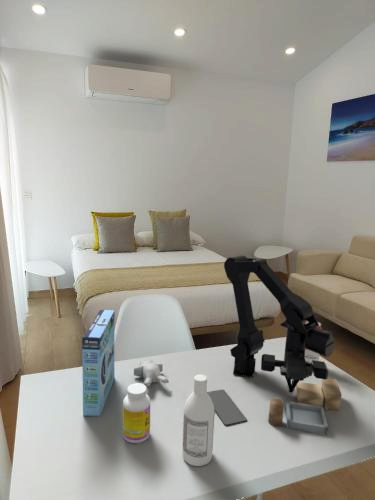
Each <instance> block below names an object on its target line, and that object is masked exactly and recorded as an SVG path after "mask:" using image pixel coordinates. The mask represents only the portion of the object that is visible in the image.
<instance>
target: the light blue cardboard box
mask: <svg viewBox="0 0 375 500" xmlns="http://www.w3.org/2000/svg"><path fill="white" fill-rule="evenodd" d="M115 312H116V311H115V310H113V309H112V310H111V309H99V310H98V313H97V314H96V315H95V317H94V319H93V320H92V321H91V323H90V325H89V326H88V327H87V329H86V331H85V333H84V334H83V335H82V337H81V338H82V339H81V342H82V343H81V344H82V348H81V349H82V352H81V353H82V362H81V363H82V416H83V417H101V415H102V412H103V410H104V408H105V404H106V402H107V399H108V396H109V394H110V391H111V388H112V385H113V383H114V381H115V377H116V375H115Z"/></svg>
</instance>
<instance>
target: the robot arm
mask: <svg viewBox="0 0 375 500" xmlns="http://www.w3.org/2000/svg"><path fill="white" fill-rule="evenodd" d="M223 269H224V271H225V275H226V277H227V279H228V280H229V282H230V283H231V284H232V288H233V293H234V300H235V306H236V312H237V318H238V323H239V324H238V325H239V329H238V333H237V337H236V341H237V343H236V345H235V346H233V347H232V348H231V349H230V356H231V357H233V358H234V364H233V373H232V375H233V376H241V377H245V378H253V377H254V374H255V373H256V360H257V359H256V358H255V355H256V354H258V353H259V351H261V350H262V349H263V347H264V343H265V339H264V332H263V329H259V328H258V327H257V326H256V323H255V318H254V313H253V312H254V311H253V307H252V300H251V295H250V290H249V283H248V282H249V278H250V275H251V273H253V274H255V276H256V278H258V279H259V281H260V282H261V283H262V284H263V286H265V288H266V289H267V290H268V291H269V292H270V294H271V295H272V296H273V297H274V298H275V299H276V300H277V303H278V304H279V306H280V311H281V313H282V315H283V316H284V318H285V320H284V321H283V322H281V323H280V324H279V325H280V326H281V327H284V328H286V337H285V343H284V344H285V345H284V346H285V347H284V356H283V360H279V359H276V355H275V354H267V353H263V354H261V360H260V363H261V364H260V369H261V371H263V372H271V373H272V372H274V371H275V370H276V367H277V368H279V372H280V375H281V376H283V377H284V378H285V381H286V383H287V387H288V391H289V393H291V394H292V393H293V392H294V390H296V385H297V383H298V382H304V379H307V378H309V377H312V376H314V377H315V379H320V380H322V379H329V377H328V376H329V369H328V367H327V364H326V362H325V361H321V360H319V361H314V360H312V363H307V362H306V361H305V349H306V348H307V349H308V350H310V351H313V352H315V353H318V354H319V356H320V355H321V356H323V357H325V358H330V356H331V355H332V354H333V352H334V349H335V345H336V341H335V338H334V337H333V332H332V331H329V330H325V329H323V328H322V329H319V328H317V327H318V326H319V324H318V322H319V321H318V320H317V318H316V317H315V314H314V312H313V310H314V309H313V307H312V305H311V304H310V303H309V302H308V301H307V300H305V299H304V298H303V297H301V296H300V295H298V294H296V293H294V292H293V291H292V290H291V289H290V288H289V287H288V286H287V284H285V283H284V281H283V280H282V279H281V278H280V277H279V276H278V274H276V272H275V271H274V270H273V269H272V268H271V267H270V266H269V264H268V262H267V261H266V260H265V259H264V258H259V259H258V258H254V257H253V258H252V257H251V258H249V257H247V256H245V255H235V256H231V257H230V256H229V257H228V258H226V259H225V261H224V262H223ZM306 321H308V322H309V323H307V324H305V322H306ZM304 324H305V325H304Z"/></svg>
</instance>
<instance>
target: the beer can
mask: <svg viewBox="0 0 375 500" xmlns="http://www.w3.org/2000/svg"><path fill="white" fill-rule="evenodd" d="M317 322H318V324H319V326H318V327H317V328H319V329H322V330H323V328H322V323H321V322H319V321H317ZM307 323H309V322H308V321H305V322H304V323H303V325H305V324H307ZM312 360H314V361H320V354H318V353H315V352H313V351H310V350H308V349H307V348H306V349H305V361H306V362H307V363H312Z"/></svg>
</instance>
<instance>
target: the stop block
mask: <svg viewBox="0 0 375 500" xmlns="http://www.w3.org/2000/svg"><path fill="white" fill-rule="evenodd" d="M321 390H322V393H323V397H324V401H323V408H324V409H328V410H333V411H340V410H341V403H342V395H343V393H342V392H341V388H340V385H339V383H338V380H337V379H335V378H333V379H332V378H327V379H321Z"/></svg>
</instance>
